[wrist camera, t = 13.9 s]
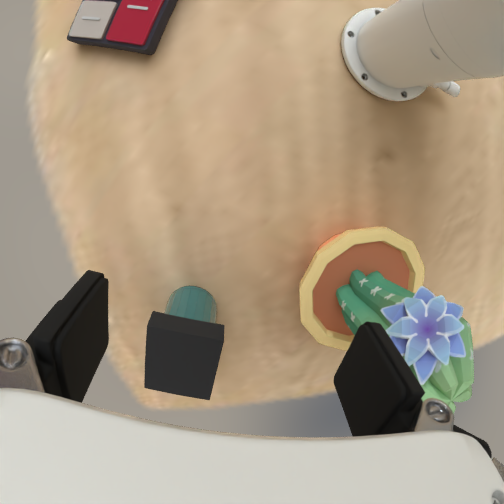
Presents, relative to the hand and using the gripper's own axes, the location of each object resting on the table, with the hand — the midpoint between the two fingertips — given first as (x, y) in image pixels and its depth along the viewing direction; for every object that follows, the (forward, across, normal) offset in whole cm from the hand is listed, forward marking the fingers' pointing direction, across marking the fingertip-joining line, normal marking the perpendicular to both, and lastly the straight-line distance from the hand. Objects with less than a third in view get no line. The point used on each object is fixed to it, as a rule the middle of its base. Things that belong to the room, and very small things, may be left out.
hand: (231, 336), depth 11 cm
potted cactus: (+26, -16, +6) cm, 32 cm away
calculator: (+26, +17, -22) cm, 38 cm away
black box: (+17, +2, +16) cm, 24 cm away
